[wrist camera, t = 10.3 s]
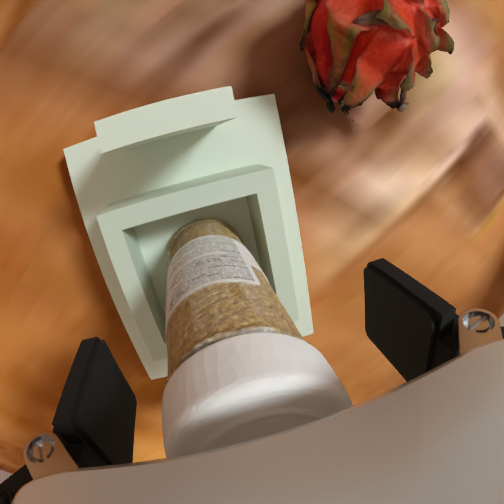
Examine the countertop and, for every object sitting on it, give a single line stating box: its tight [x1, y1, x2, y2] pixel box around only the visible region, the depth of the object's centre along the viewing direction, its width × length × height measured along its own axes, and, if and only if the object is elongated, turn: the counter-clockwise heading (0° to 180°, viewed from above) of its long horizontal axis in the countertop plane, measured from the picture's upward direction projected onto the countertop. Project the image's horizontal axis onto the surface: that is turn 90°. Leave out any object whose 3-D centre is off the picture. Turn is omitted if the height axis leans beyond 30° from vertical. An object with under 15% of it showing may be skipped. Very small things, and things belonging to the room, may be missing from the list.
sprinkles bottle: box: [162, 218, 353, 458], centre depth 12 cm, size 5×5×13 cm
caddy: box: [63, 86, 313, 380], centre depth 16 cm, size 12×16×7 cm
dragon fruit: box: [300, 0, 454, 121], centre depth 14 cm, size 8×8×12 cm
